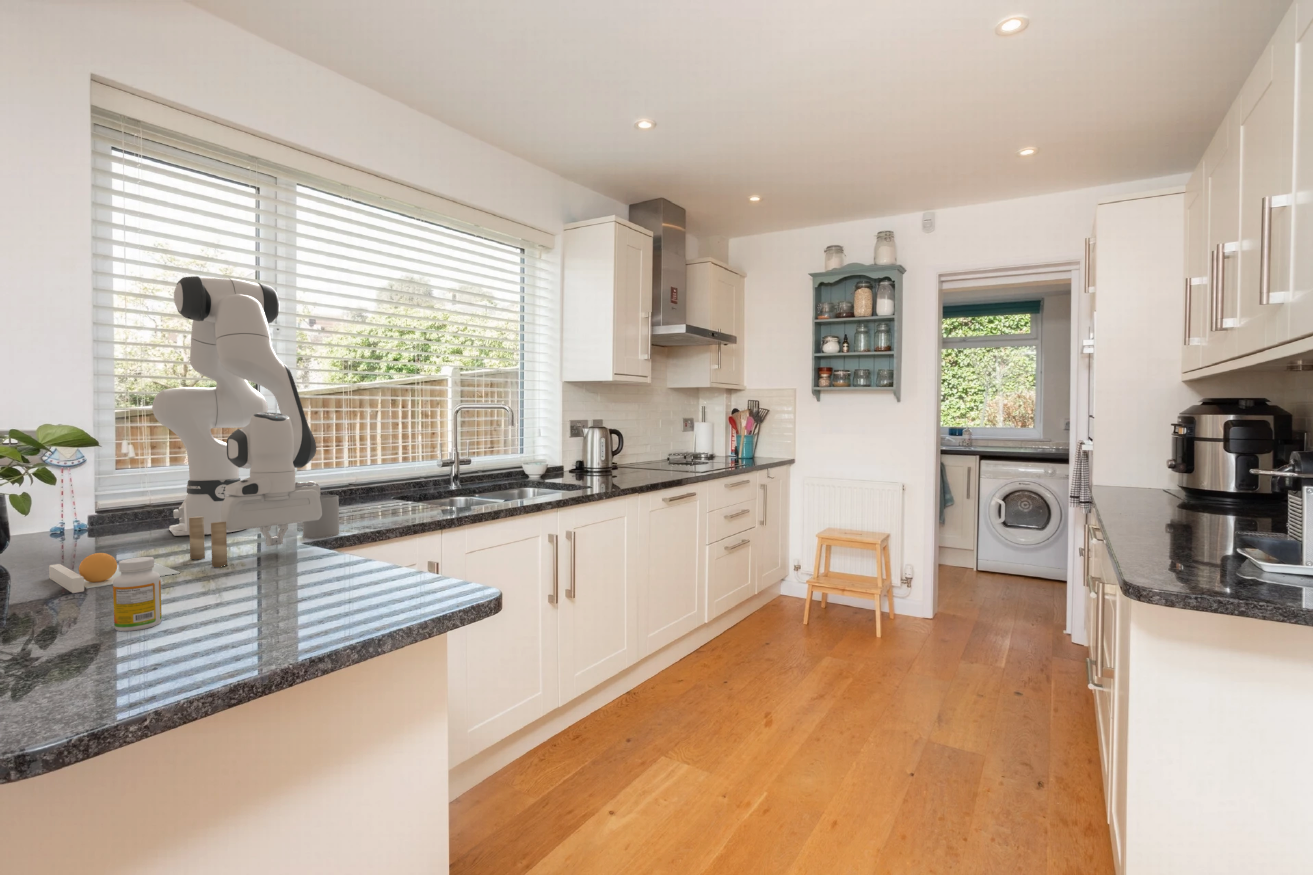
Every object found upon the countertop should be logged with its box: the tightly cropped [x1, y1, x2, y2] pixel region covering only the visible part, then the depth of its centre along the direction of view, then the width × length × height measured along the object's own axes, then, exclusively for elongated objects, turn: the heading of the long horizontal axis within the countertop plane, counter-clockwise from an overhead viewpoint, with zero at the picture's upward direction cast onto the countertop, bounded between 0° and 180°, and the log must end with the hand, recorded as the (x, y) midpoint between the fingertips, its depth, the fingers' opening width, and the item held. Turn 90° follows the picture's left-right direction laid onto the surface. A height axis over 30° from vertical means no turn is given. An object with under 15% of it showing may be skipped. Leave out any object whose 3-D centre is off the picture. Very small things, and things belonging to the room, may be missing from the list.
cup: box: [302, 494, 340, 539], centre depth 168 cm, size 8×8×10 cm
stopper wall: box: [48, 563, 85, 594], centre depth 118 cm, size 18×2×2 cm, turn 53°
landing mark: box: [84, 562, 181, 589], centre depth 125 cm, size 14×14×1 cm
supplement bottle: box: [112, 556, 163, 632], centre depth 93 cm, size 5×5×10 cm
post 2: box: [210, 522, 228, 568], centre depth 132 cm, size 3×3×9 cm
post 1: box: [189, 517, 206, 560], centre depth 140 cm, size 3×3×9 cm
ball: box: [78, 552, 118, 582], centre depth 120 cm, size 5×5×5 cm
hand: (274, 544), depth 146 cm, fingers closed
